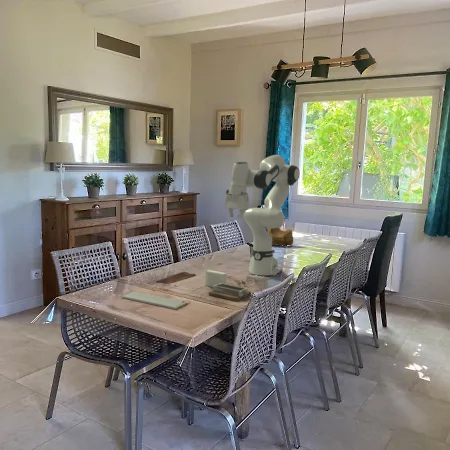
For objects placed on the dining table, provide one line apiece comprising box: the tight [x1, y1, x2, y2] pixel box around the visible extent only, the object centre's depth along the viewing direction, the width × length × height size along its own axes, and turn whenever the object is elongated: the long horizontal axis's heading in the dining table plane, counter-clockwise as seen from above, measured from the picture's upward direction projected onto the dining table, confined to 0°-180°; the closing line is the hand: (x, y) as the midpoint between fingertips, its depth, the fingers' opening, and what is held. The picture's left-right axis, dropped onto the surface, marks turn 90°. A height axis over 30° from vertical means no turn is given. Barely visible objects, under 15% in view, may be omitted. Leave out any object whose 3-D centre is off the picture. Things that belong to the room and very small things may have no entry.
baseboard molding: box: [121, 291, 191, 310], centre depth 209 cm, size 31×3×12 cm
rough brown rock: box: [267, 227, 294, 246], centre depth 357 cm, size 23×17×15 cm
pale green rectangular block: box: [205, 269, 227, 288], centre depth 234 cm, size 3×11×8 cm, turn 57°
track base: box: [208, 283, 252, 302], centre depth 221 cm, size 14×16×4 cm
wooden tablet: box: [155, 271, 197, 285], centre depth 249 cm, size 26×2×10 cm
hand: (235, 217), depth 237 cm, fingers open, 8 cm apart
